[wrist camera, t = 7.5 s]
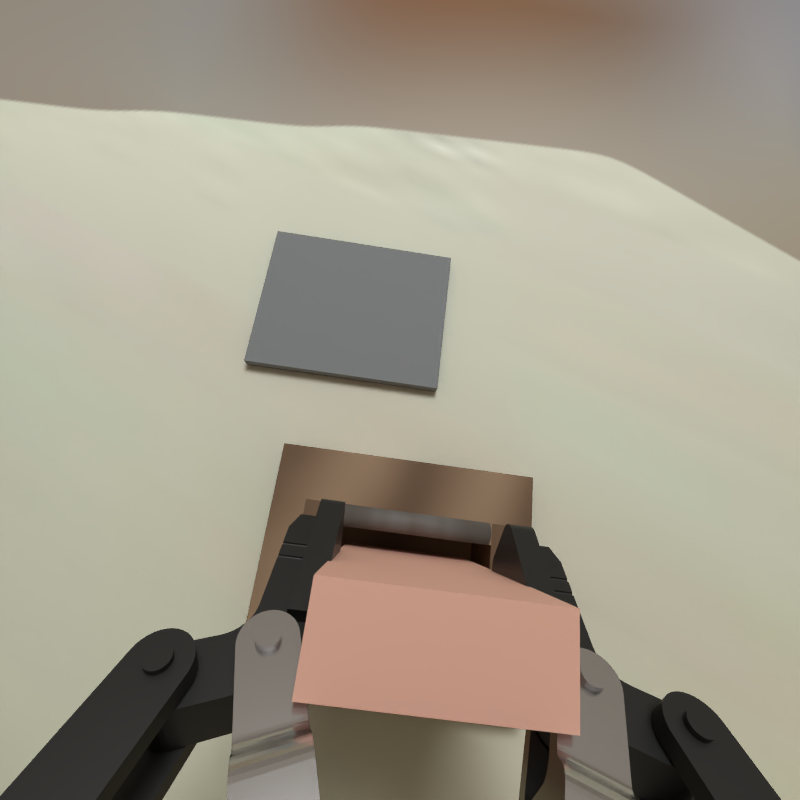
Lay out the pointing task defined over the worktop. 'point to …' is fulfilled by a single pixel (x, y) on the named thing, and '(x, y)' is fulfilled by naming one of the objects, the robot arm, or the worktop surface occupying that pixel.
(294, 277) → the mat
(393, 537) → the holder
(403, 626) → the salmon pink brick
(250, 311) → the worktop surface
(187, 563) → the worktop surface
